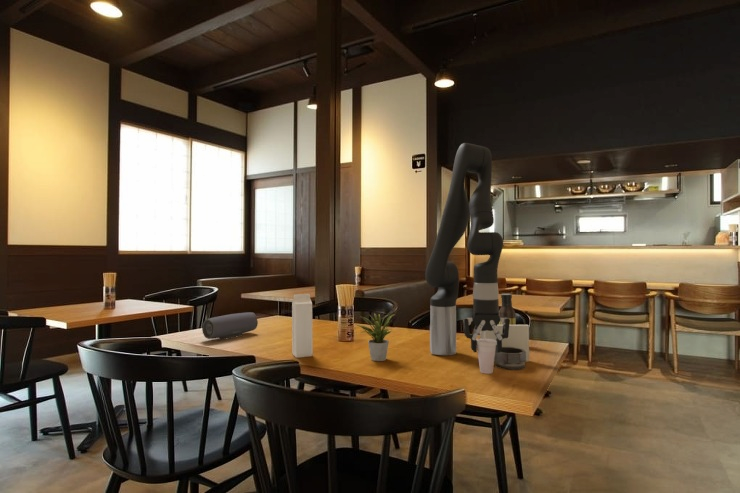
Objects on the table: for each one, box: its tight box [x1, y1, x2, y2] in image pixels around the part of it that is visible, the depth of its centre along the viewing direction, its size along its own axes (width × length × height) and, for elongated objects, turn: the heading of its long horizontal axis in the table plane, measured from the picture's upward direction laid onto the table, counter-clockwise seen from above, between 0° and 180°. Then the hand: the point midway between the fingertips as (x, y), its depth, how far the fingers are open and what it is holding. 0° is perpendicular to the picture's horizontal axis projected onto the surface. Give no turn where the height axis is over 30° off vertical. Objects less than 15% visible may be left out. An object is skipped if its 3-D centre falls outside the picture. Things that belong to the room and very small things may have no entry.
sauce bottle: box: [498, 293, 517, 325], centre depth 166 cm, size 6×6×20 cm
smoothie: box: [476, 331, 497, 375], centre depth 129 cm, size 6×6×14 cm
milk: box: [291, 293, 314, 359], centre depth 152 cm, size 6×6×22 cm
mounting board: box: [479, 324, 530, 362], centre depth 142 cm, size 16×1×12 cm, turn 87°
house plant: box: [356, 312, 396, 362], centre depth 146 cm, size 14×14×16 cm
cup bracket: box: [494, 347, 527, 371], centre depth 136 cm, size 9×10×5 cm
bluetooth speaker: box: [201, 311, 259, 340], centre depth 184 cm, size 23×9×10 cm, turn 145°
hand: (486, 351), depth 129 cm, fingers closed on smoothie, 6 cm apart
